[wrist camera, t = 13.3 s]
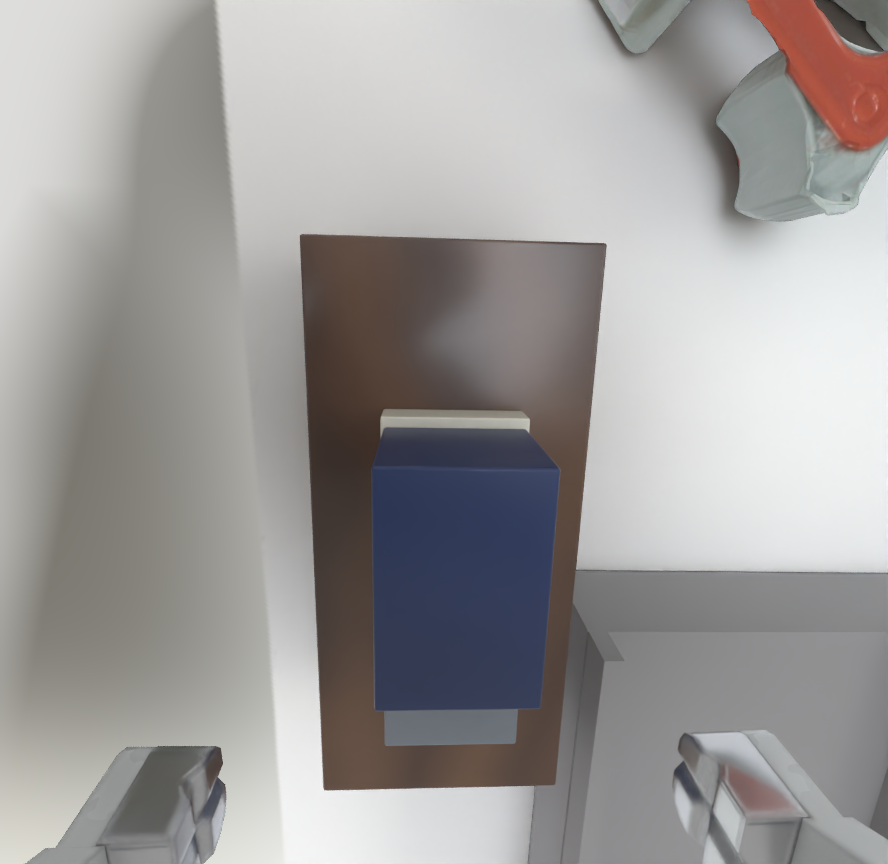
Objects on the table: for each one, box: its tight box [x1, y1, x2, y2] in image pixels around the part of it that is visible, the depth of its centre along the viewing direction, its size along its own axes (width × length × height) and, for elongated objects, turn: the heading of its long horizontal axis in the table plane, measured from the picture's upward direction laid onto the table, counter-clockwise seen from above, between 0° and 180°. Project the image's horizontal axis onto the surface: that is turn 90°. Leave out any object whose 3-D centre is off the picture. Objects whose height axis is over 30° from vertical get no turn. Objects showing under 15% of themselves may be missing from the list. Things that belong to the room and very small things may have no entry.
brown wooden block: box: [300, 234, 607, 790], centre depth 21 cm, size 9×20×8 cm, turn 179°
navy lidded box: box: [371, 409, 560, 746], centre depth 14 cm, size 10×4×5 cm, turn 179°
